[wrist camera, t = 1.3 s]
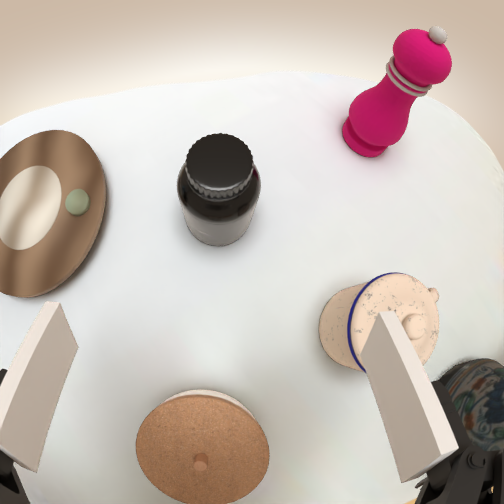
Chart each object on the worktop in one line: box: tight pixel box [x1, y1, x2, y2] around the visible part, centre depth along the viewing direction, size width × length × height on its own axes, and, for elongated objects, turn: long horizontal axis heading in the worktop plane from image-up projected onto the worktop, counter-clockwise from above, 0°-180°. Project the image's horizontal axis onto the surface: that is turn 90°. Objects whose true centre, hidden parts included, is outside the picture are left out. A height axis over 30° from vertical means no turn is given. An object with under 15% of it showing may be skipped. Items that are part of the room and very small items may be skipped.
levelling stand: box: [0, 130, 106, 298], centre depth 28 cm, size 20×20×4 cm
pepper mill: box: [342, 26, 452, 157], centre depth 27 cm, size 7×7×20 cm
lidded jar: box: [136, 389, 269, 504], centre depth 23 cm, size 11×11×9 cm
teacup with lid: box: [319, 273, 439, 374], centre depth 26 cm, size 12×9×12 cm
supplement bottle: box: [177, 133, 261, 246], centre depth 26 cm, size 7×7×12 cm
